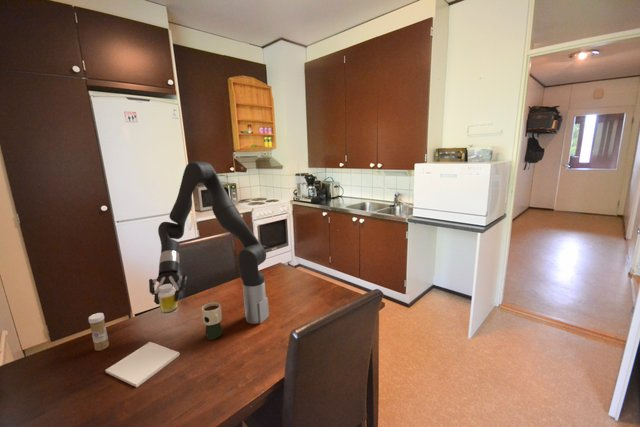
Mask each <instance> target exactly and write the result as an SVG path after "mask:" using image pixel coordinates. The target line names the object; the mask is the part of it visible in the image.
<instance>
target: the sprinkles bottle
mask: <svg viewBox="0 0 640 427" xmlns="http://www.w3.org/2000/svg"><path fill="white" fill-rule="evenodd" d="M88 323H89V324H90V325H89V326H90V330H91V337H92V341H93V345H94V350H95V351H103V350H105V349H107V348H108V347H109V346H110V342H109V338H108V332H107V327H106V322H105V315H104V313H103V312H97V313H94V314H91V315H90V316H88Z"/></svg>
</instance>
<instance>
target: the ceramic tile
mask: <svg viewBox="0 0 640 427" xmlns="http://www.w3.org/2000/svg"><path fill="white" fill-rule="evenodd" d="M179 356H180V352H179V351H176V350H173V349H171V348H168V347H165V346H162V345H160V344H157V343H154V342H152V341H148V342H147V343H145V344H144V345H143V346H141V347H140V348H138V349H137V350H134V352H132V353H130V354H128V355H127V356H125V357H124V358H122V359H121V360H119V361H117V362H116V363H114V364H112V365H111V366H110V367H107V368H106V369H105V373H106V374H108V375H110V376H112V377H115V378H116V379H118V380H121V381H122V382H125V383H127V384H128V385H131V386H133V387H135V388H138V387H139V386H141V385H142V384H143V383H145V382H146V381H147V380H149V379H150V378H151V377H153V376H154V375H156V373H158V372H159V371H160V370H162V369H164V368H165V367H166V366H167V365H168V364H170V363H171V362H172V361H174V360H176V358H178V357H179Z"/></svg>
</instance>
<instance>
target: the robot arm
mask: <svg viewBox="0 0 640 427" xmlns="http://www.w3.org/2000/svg"><path fill="white" fill-rule="evenodd" d="M200 184H203V186H204V187H205V188H206V190H207V191H208V193H209V195H210V200H211V208H212V209H211V210H212V213H213V215H214V216H215V219H216V220H217V221H218V223H219V224H220V226H221V227H222V228H223V229H225V231H227V232H228V233H230V234H232V236H234V237H235V238H237V240H239V241H240V242H241V244H242V245H243V247H244V248H243V249H241V250H239V253H238V255H237V256H238V257H237V262H238V263H237V264H238V270H239V276H240V279H241V281H242V291H243V293H242V294H243V304H244V314H245V322H247V323H248V324H251V325H252V324H254V325H255V324H262V323H264V322H265V321H266V320H267V319H269V317H270V314H269V313H270V311H269V299H268V297H267V296H266V283H265V282H266V281H265V274H264V273H263V272H260V271H259V266H260V265H261V264H263V263H264V262H265V261H266V259H267V251H266V249H265V248H264V246H263V245H262V243H261V242H260V241H259V239H258V238H257V237H256V236H255V234H254V233H253V231H251V229H250V227H249V226H248V225H247V223H246V221H245V220H244V218H243V216H242V214H241V213H240V212H239V210H238V207H236V205H235V204H234V202H233V201H232V199H231V197H230V196H229V194H228V192H227V191H226V189H225V188H224V185H223V184H222V182H221V179H220V178H219V176H218V174H217V172H216V170H215V168H214V167H213V166H212V164H211V163H209V162H207V161H191V162H189V163H188V164H187V165H186V166H185V168H184V170H183V173H182V178H181V182H180V185H179V190H178V194H177V197H176V200H175V202H174V205H173V206H172V209H171V211H170V212H169V216H168V218H169V219H170V221H171V222H170V221H162V222H160V224H159V225H158V229H157V233H158V236H159V241H160V244H161V246H160V248H161V250H160V257H159V263H158V264H159V265H158V274H157V278H154V279H152V278H149V280H148V284H149V287H148V288H149V290H148V291H149V293H150V294H151V295H152V296H153V295H154V296H153V297H154V299H153V302H154V303H155V304H156V305H159V299H158V294H159V292H160V291H159V287H160V286H162V285H165V284H172V287H173V288H174V290H175V302H177V303H178V302H179V300H180V294H181V292H182V291H185V290H186V287H187V280H188V279H187V278H188V277H187V275H186V274H182V275H180V274H179V273H180V272H179V271H180V243H179V242H178V240H180V239H181V238H182V237H183V236H184V234H185V226H186V221H187V218H188V217H189V214H190V213H191V210H192V207H193V194H194V190H196V187H197V186H198V185H200ZM179 280H180V281H181V283H180V286H178V284H177V283H178V282H179ZM157 282H158V284H157ZM156 284H157V287H156V289H155V285H156Z"/></svg>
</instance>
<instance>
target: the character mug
mask: <svg viewBox="0 0 640 427" xmlns="http://www.w3.org/2000/svg"><path fill="white" fill-rule="evenodd" d="M222 314H223V312H222V304H221V303H220V302H218V301H212V302H208V303H206V304H204V305H202V306H201V316H202V323H203V325H205V326H206V327H205V336H206V338H207V340H211V341H212V340H215V339H218V338H219V337H221V336H222V335H223V329H222V325H221V321H222V318H223V315H222Z"/></svg>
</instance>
